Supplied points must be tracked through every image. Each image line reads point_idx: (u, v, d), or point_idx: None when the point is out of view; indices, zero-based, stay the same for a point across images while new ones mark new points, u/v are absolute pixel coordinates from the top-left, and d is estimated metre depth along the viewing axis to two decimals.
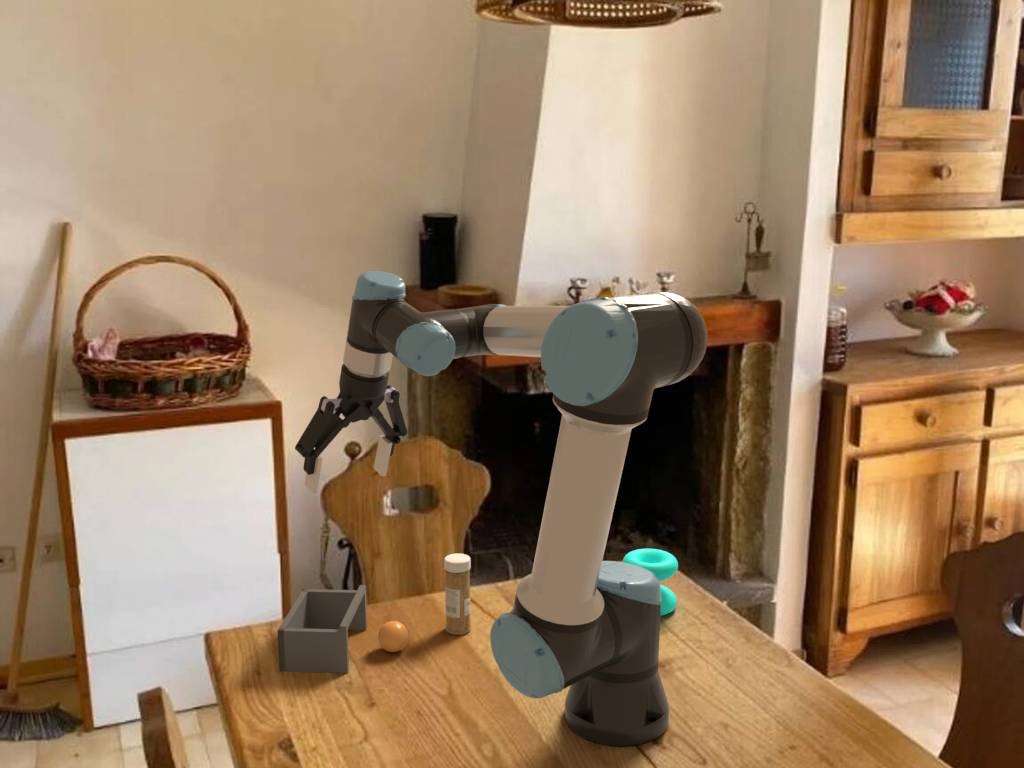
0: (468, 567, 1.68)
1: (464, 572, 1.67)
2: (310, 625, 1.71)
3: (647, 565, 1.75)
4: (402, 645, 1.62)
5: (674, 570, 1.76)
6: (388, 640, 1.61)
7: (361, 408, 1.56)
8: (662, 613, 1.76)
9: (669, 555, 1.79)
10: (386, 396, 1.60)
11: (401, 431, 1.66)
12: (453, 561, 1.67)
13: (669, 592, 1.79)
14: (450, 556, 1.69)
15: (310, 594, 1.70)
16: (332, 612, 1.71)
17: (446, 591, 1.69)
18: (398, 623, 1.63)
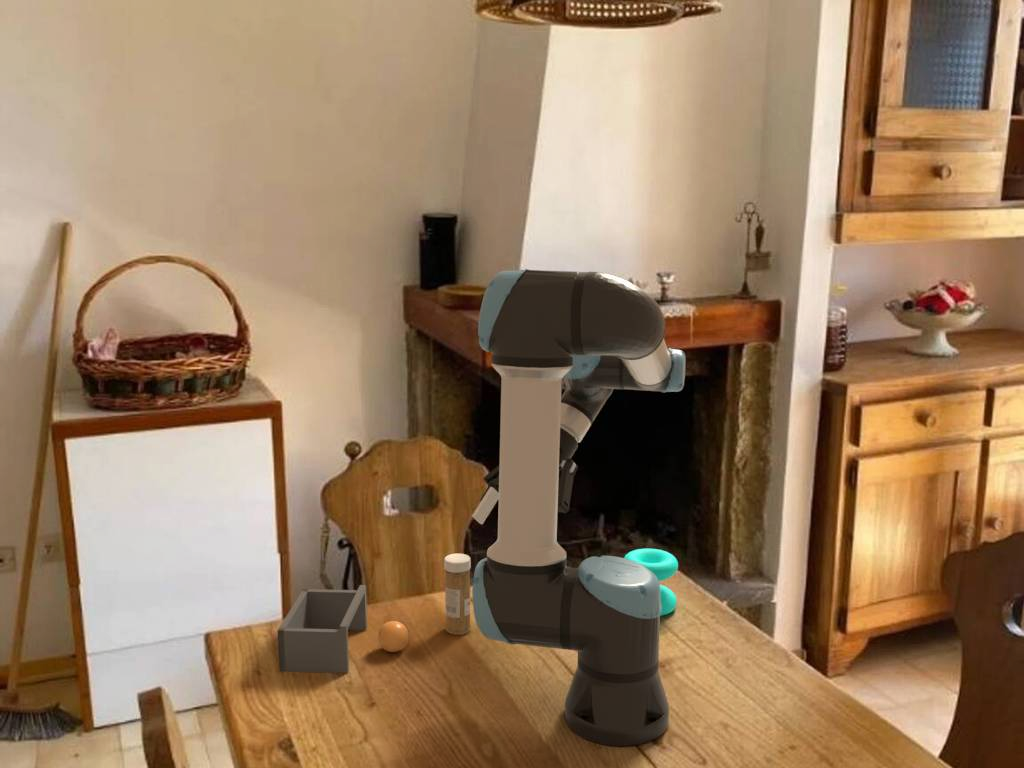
0: (468, 567, 1.68)
1: (464, 572, 1.67)
2: (310, 625, 1.71)
3: (647, 565, 1.75)
4: (402, 645, 1.62)
5: (674, 570, 1.76)
6: (388, 640, 1.61)
7: None
8: (662, 613, 1.76)
9: (669, 555, 1.79)
10: (563, 463, 1.76)
11: (557, 499, 1.71)
12: (453, 561, 1.67)
13: (669, 592, 1.79)
14: (450, 556, 1.69)
15: (310, 594, 1.70)
16: (332, 612, 1.71)
17: (446, 591, 1.69)
18: (398, 623, 1.63)
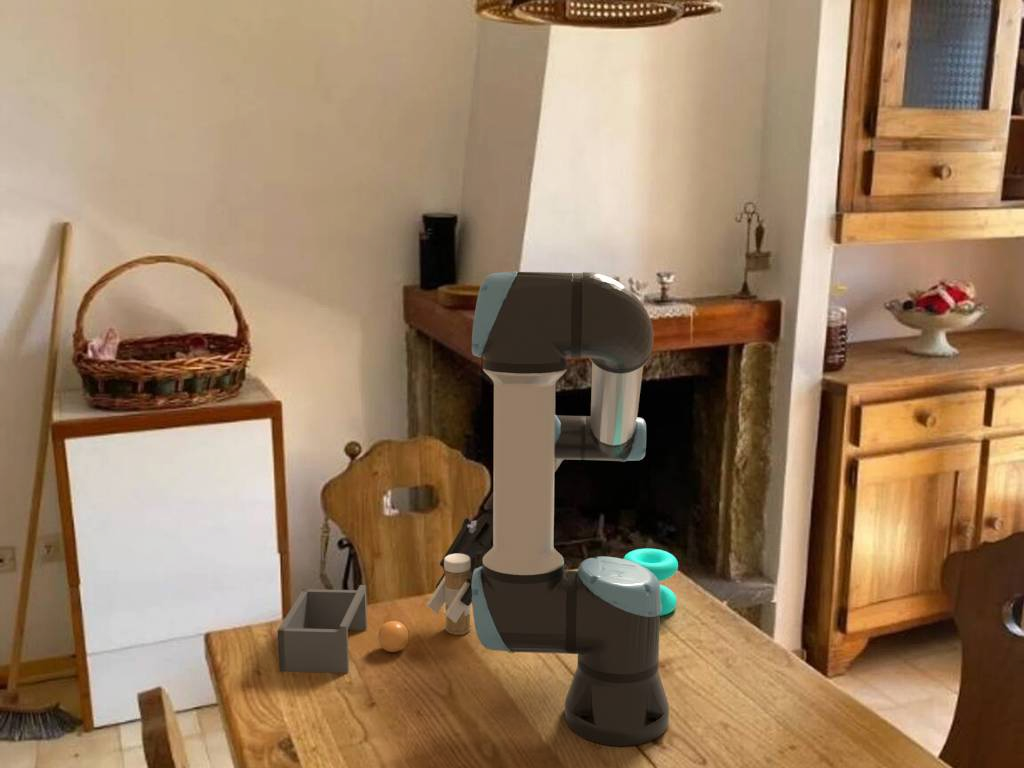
0: (468, 567, 1.68)
1: (464, 572, 1.67)
2: (310, 625, 1.71)
3: (647, 565, 1.75)
4: (402, 645, 1.62)
5: (674, 570, 1.76)
6: (388, 640, 1.61)
7: (484, 522, 1.73)
8: (662, 613, 1.76)
9: (669, 555, 1.79)
10: None
11: None
12: (453, 561, 1.67)
13: (669, 592, 1.79)
14: (450, 556, 1.69)
15: (310, 594, 1.70)
16: (332, 612, 1.71)
17: (446, 591, 1.69)
18: (398, 623, 1.63)
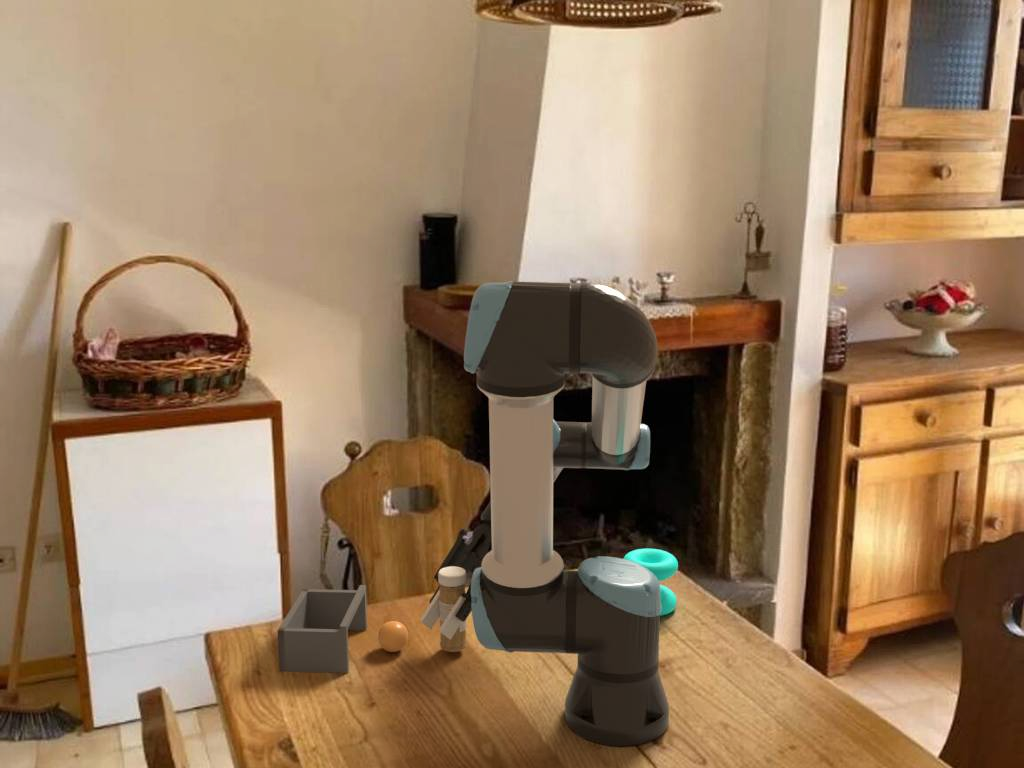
0: (463, 581, 1.60)
1: (459, 586, 1.59)
2: (310, 625, 1.71)
3: (647, 565, 1.75)
4: (402, 645, 1.62)
5: (674, 570, 1.76)
6: (388, 640, 1.61)
7: (480, 533, 1.65)
8: (662, 613, 1.76)
9: (669, 555, 1.79)
10: None
11: None
12: (448, 575, 1.59)
13: (669, 592, 1.79)
14: (445, 569, 1.61)
15: (310, 594, 1.70)
16: (332, 612, 1.71)
17: (440, 606, 1.61)
18: (398, 623, 1.63)
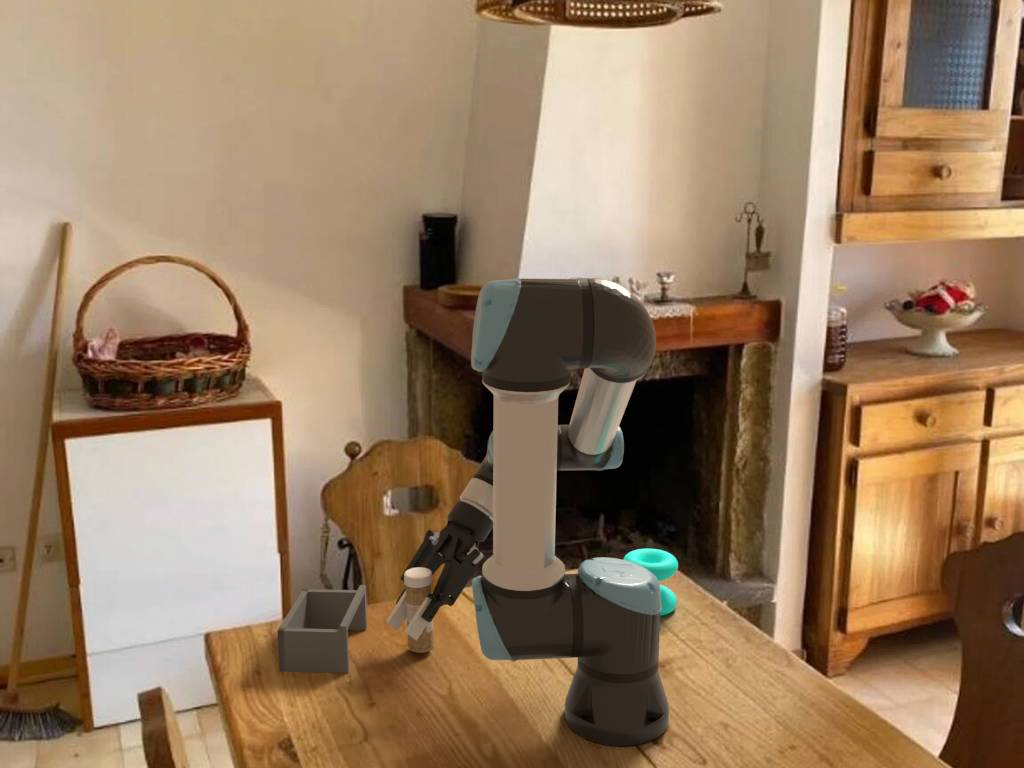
0: (429, 582, 1.60)
1: (425, 587, 1.59)
2: (310, 625, 1.71)
3: (647, 565, 1.75)
4: None
5: (674, 570, 1.76)
6: None
7: (446, 534, 1.65)
8: (662, 613, 1.76)
9: (669, 555, 1.79)
10: (472, 550, 1.62)
11: (444, 591, 1.58)
12: (413, 576, 1.59)
13: (669, 592, 1.79)
14: (410, 570, 1.61)
15: (310, 594, 1.70)
16: (332, 612, 1.71)
17: (407, 607, 1.61)
18: None
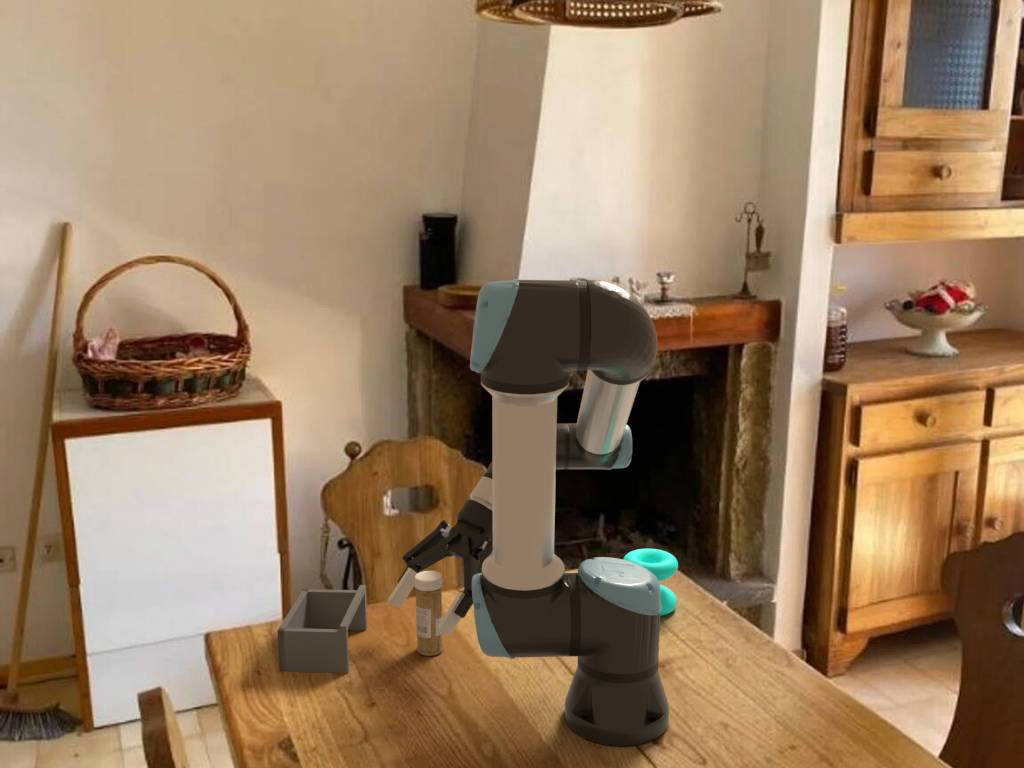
0: (439, 585, 1.60)
1: (435, 590, 1.60)
2: (310, 625, 1.71)
3: (647, 565, 1.75)
4: None
5: (674, 570, 1.76)
6: None
7: (456, 533, 1.65)
8: (662, 613, 1.76)
9: (669, 555, 1.79)
10: (485, 545, 1.62)
11: None
12: (424, 579, 1.59)
13: (669, 592, 1.79)
14: (421, 573, 1.62)
15: (310, 594, 1.70)
16: (332, 612, 1.71)
17: (417, 610, 1.61)
18: None
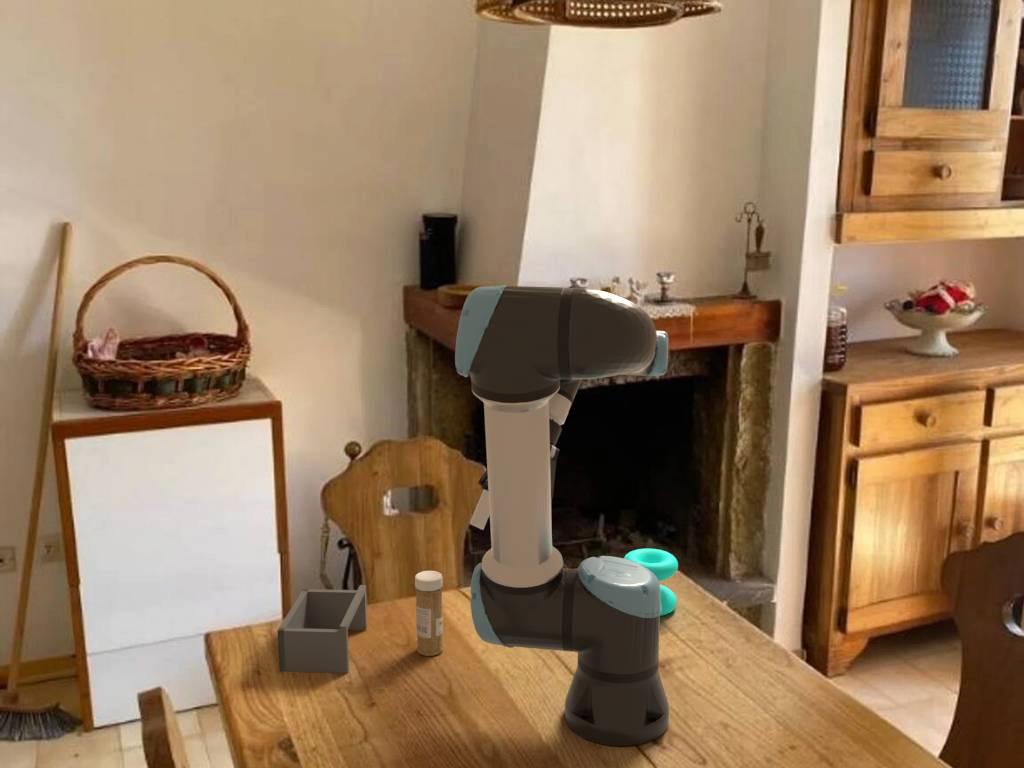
0: (440, 585, 1.60)
1: (435, 590, 1.60)
2: (310, 625, 1.71)
3: (647, 565, 1.75)
4: None
5: (674, 570, 1.76)
6: None
7: None
8: (662, 613, 1.76)
9: (669, 555, 1.79)
10: None
11: None
12: (424, 579, 1.59)
13: (669, 592, 1.79)
14: (421, 573, 1.62)
15: (310, 594, 1.70)
16: (332, 612, 1.71)
17: (417, 610, 1.61)
18: None
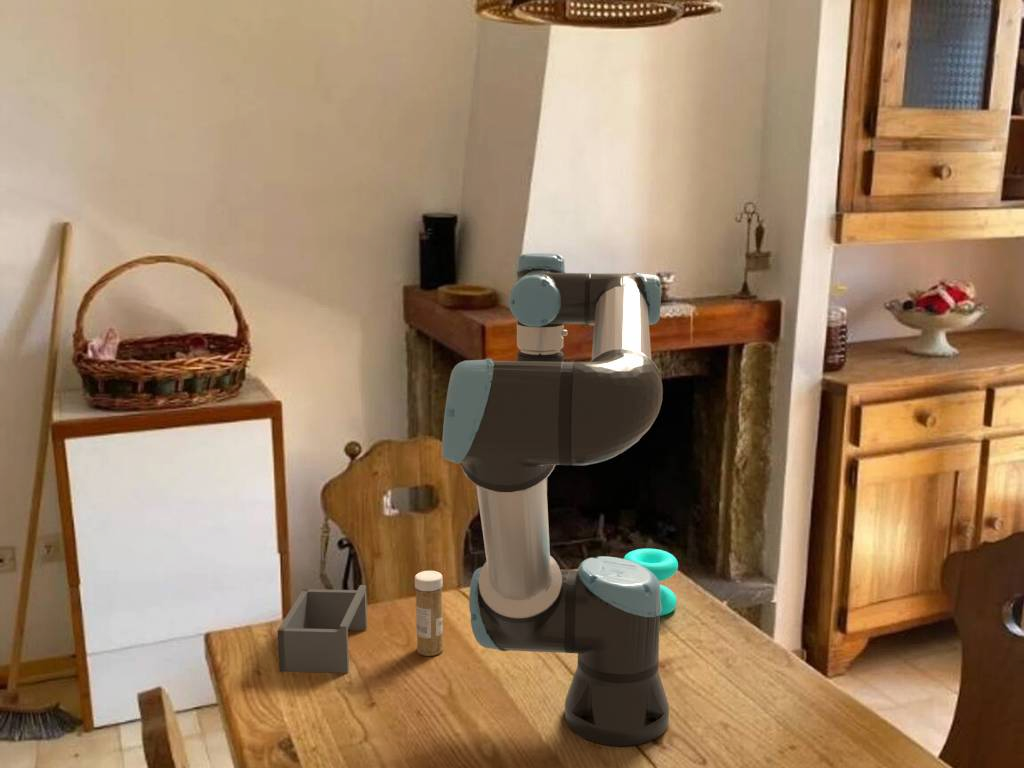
0: (439, 585, 1.60)
1: (435, 590, 1.60)
2: (310, 625, 1.71)
3: (647, 565, 1.75)
4: None
5: (674, 570, 1.76)
6: None
7: None
8: (662, 613, 1.76)
9: (669, 555, 1.79)
10: None
11: None
12: (424, 579, 1.59)
13: (669, 592, 1.79)
14: (421, 573, 1.62)
15: (310, 594, 1.70)
16: (332, 612, 1.71)
17: (417, 610, 1.61)
18: None
